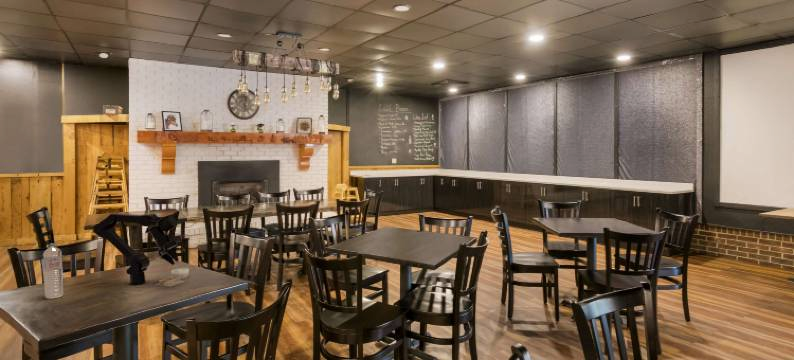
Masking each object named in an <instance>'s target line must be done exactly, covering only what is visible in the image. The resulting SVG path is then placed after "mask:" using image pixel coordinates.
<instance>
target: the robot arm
mask: <svg viewBox="0 0 794 360" xmlns="http://www.w3.org/2000/svg"><path fill="white" fill-rule="evenodd" d="M118 223H129V224H130V223H131V224H138V225H139V226H142V227H143V226H144V227H146V229H145V231H144V233H145V234H148V233H150V235H151V237H152V238H153V240H154V244H156V246H157V247H158V251H157V253H156V254H157V257H158V258H160V259H162V260H164V261H166V262H167V263H168V264H170V265H172V266H175V261H176V262H179V256H178V252H177V248H178V246H179V245H178V244H181V242H182V241H183V239H182V235H181V234H178V235H173V236H172V235H171V236H169V234H166V233H167V232H169V231H171V230H173V229H175V228H176V227H177V226H178V221H177V219H175V218H174V217H173V216H172V215H170V214H169V215H166V216H165V217H164V218H162V217H160V216H158V215H157V214H156V213H145V214H132V213H131V214H130V213H119V212H114V213H110V214H109V215H108V216H107V217H106V218H104V219H102V220H101V221H100V222H99V223H96V224H95V225H94V226H93V232H94V234H95V235H97V236H98V237H100V238H102V239H105V240H107V241H108V242H109V243H110V244H112V246H114V248H115V249H117V250H118V251H119V253H121V254H122V255H123V256H124V257H125V258H126V259H127V262H128V265H129V267H128V268H127V269H126V270H125V271H126V274H127V275H129V281H130V282H129V283H127V285H130V286H141V285H144V284H146V283H147V284H148V281H146V275H145V271H147V269H148V267H149V266H150V263H151V262H150V259H149V256H147V255H146V254H145V253H144V252H143V251H141V252H137V251H135V250H134V249H133V248H132V247H131V246H130V245H129V244H128V243H127V242H126V241H125V240H124V239H123V238H122V237H121V236H120V235H119V234H117V231H116V228H115V226H117V224H118Z"/></svg>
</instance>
